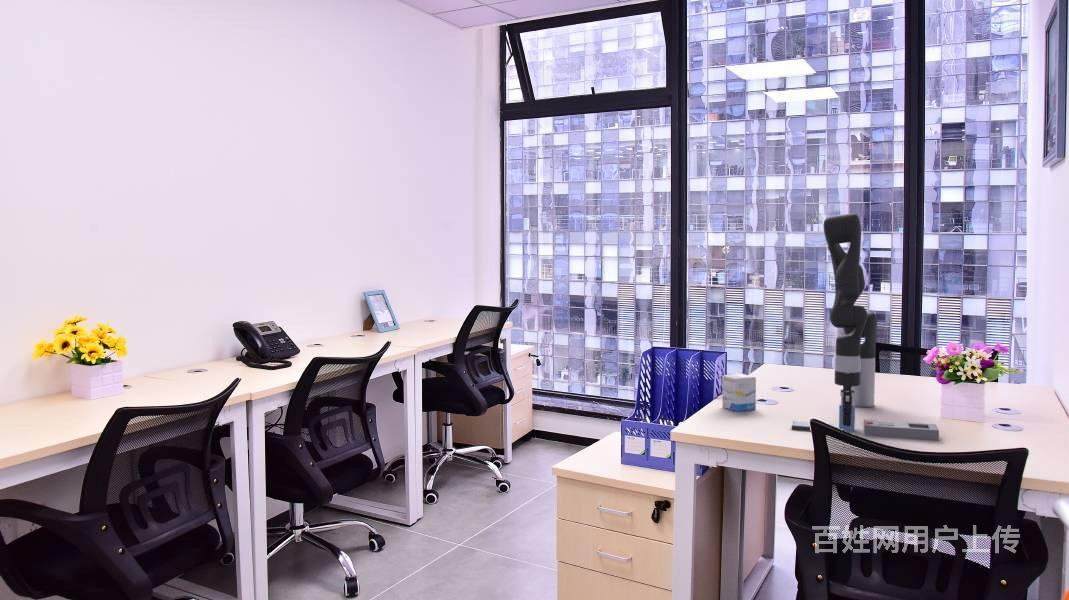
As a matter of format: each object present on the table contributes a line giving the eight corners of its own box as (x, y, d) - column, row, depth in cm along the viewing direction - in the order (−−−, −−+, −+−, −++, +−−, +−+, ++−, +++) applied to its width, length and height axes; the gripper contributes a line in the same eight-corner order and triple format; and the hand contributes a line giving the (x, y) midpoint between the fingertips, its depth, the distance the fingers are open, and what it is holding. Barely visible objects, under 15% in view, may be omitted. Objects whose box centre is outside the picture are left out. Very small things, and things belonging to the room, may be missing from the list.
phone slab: (792, 424, 251) (792, 420, 250) (832, 427, 246) (832, 423, 246) (791, 429, 244) (791, 425, 244) (832, 432, 240) (832, 428, 240)
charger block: (838, 427, 246) (839, 401, 246) (854, 428, 245) (854, 402, 244) (839, 430, 242) (839, 404, 242) (854, 431, 241) (854, 405, 240)
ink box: (756, 409, 273) (756, 376, 272) (736, 412, 270) (736, 378, 269) (741, 405, 281) (741, 372, 280) (721, 407, 278) (721, 374, 277)
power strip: (863, 429, 244) (863, 418, 243) (935, 434, 236) (935, 422, 236) (864, 435, 236) (864, 423, 236) (938, 440, 229) (939, 428, 229)
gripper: (834, 365, 250) (833, 418, 251) (834, 372, 237) (833, 428, 238) (860, 366, 247) (859, 419, 249) (861, 373, 234) (860, 430, 235)
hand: (846, 423), depth 243 cm, fingers closed on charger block, 4 cm apart
